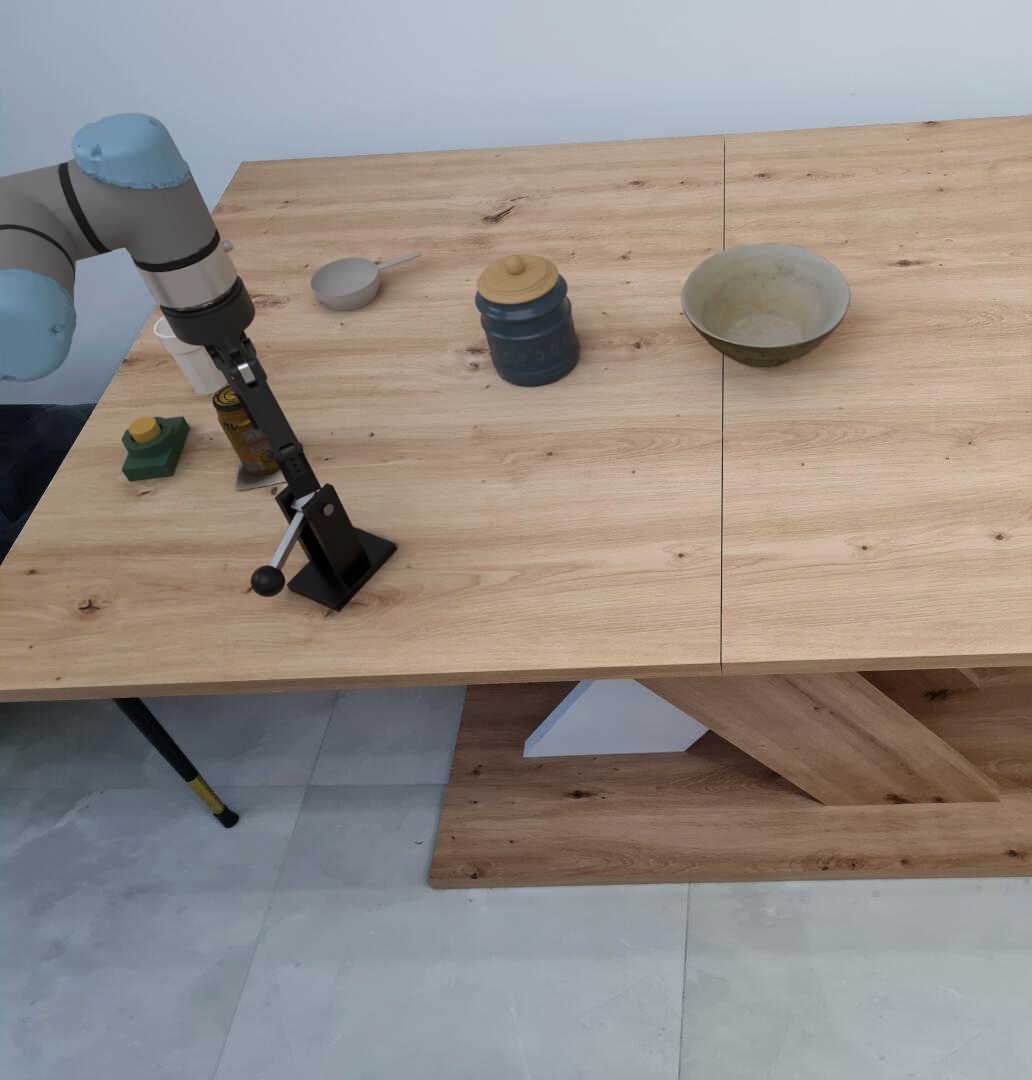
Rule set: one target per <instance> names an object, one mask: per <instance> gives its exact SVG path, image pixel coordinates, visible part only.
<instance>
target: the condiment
mask: <svg viewBox="0 0 1032 1080" xmlns="http://www.w3.org/2000/svg"><path fill="white" fill-rule="evenodd" d="M212 407H213V408H214V409H215V411H216V414H217V420H218V422H219V425H220V427H221V428H222V430H223V432H224V434H225V436H226V437H227V440H228V441H229V443H230V445H231V446H232V448H233V450H234V452H235V454H236V456H237V458H238V459H239V464H238V469H237V475H236V484H235V487H234V488H235V489H234V490H235V491H244V490H250V489H256V488H257V489H258V488H262V487H269V486H271V485H276V484H282V483H285V482H286V480H285V478H284V476H283V474H282V472H281V470H280V468H279V467H278V465H277V463H276V461H275V459H274V458H273V459H271V460H268V459H267V457H266V455H265V454H267V453H270V450H271V448H270V446H269V444H268V442H267V440H266V439H265V437H264V435H263V433H262V431H261V430H260V429H258V430H254V428H253V426H252V424H251V422H250V421H249V419H248V417H247V415H246V413H245V411H244V409H243V408H242V406H241V404H240V402H239V400H238V398H237V396H236V395H235V393H234V392H233V391H232V389H231V387H230V385H229V384H226V385H225V386H224V387H222V388H221V389H220V390H218V391H216V392H214V394H213V396H212ZM286 483H287V482H286Z"/></svg>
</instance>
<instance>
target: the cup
mask: <svg viewBox="0 0 1032 1080" xmlns="http://www.w3.org/2000/svg"><path fill="white" fill-rule="evenodd" d="M153 333H154V335H155V336H156V338H157V340H158V341H159V343H160V344H161V346H162V347H163V349H164V350H165V351H166V352H168V353H169V354H170V355H171V357H172V358H173V360H174V361H175V362H176V364H177V366H178V367H179V369H180V370H181V372H182V373H183V375H184V376H185V378H186V379H187V381H188V382H189V383H190V385H191V387H192V388H193V390H194V391H195V393H196V394H197V395H212V394H213V393H214V394H215V393H216V392H217V391H218V390H220V389H221V388H222V387H224V386H226V385H228V382H227V380H226V378H225V377H224V375H223V373H222V372H221V371H220V370H218V369H217V368H216V366H215V364H214V363H213V361H212V359H211V357H210V355H208V353H207V351H206V349H205V348H204V346H195V345H190V344H186V343H184V342H182V341H180V340H179V339H178V338H177V337H176V336H175V334H174V332H173V331H172V329H171V327H170V325H169V323H168V322H167V320H166V318H165V316H164V315H163V316H162V317H161V318H159V319H158V320H156V322H155V324H154V325H153Z"/></svg>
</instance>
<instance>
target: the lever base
mask: <svg viewBox="0 0 1032 1080" xmlns="http://www.w3.org/2000/svg"><path fill="white" fill-rule="evenodd" d="M321 488H322V489H320V490H317V493H316V494H315V495H314V496H313V497H312V498H311V499H310V500H309V501H308V502H307V503H305V504H304V505H303V506H302V507H301V510H302V512H303V514H304V516H305V518H306V519H307V522H306V524H305V526H304V528H303V530H302V532H301V534H300V536H299V537H298V539H297V541H298V544H299V545H300V547H301V549H302V550H303V552H304V554H305V556H306V558H307V559H308V562H307V563H306V564H305V565H304V566H303V567H301V569H300V570H299V571H298V572H297V573H296V574H295V575H294V576H293V577H292V578H291V579H290V580H289V581H288V582H287V583H285V586H286V587H287V589H288V591H290V592H292V593H295V594H296V595H299V596H301V597H303V598H306V599H308V600H311V601H312V602H315V603H317V604H319V605H322V606H324V607H327V608H329V609H330V610H333V611H336V612H339V613H340V612H341V610H342V609H344V607H345V606H346V605H348V603H349V602H350V601H351V600H352V599H353V598H354V597H355V596H356V595H357V593H358V592H359V591H360V590H361V589H362V588H363V587H364V586H365V585H366V584H367V583H368V582H369V581H370V579H371V578H372V577H373V576H374V575H375V574H376V573H377V572H378V571H379V570H380V569H381V567H383V566H384V564H385V563H386V562H387V561H388V560H389V559H390V558H391V557H392V556H393V554H395V552H397V550H398V546H397V545H396V543H395V542H393V541H391V540H388V539H386V538H384V537H380V536H378V535H376V534H373V533H371V532H368V531H366V530H363V529H360V528H358V527H356V526H354V525H353V523H352V520H351V519H350V517H349V515H348V512H347V510H346V509H345V507H344V505H343V503H342V501H341V499H340V497H339V495H338V492H337V490H336V488H335V486H334V485H333V484H331V483H329V482H326V483H325V484H324V485H323V486H321ZM294 499H295V497H294V495H293V493H292V491H291V489H290V487H289V485H288V484H287V486H285V487H284V488H283V489H282V490H281V491H280V492H278V494H277V495H276V496H274V501H275V502H276V504H277V506H278V507H279V509H280V511H281V513H282V514H283V517H284V518H285V520H286V522H287V523H288V526H290V524H291V522H292V520H293V518H294V517H295V515H296V513H297V510H295V509H293V508H291V505H292V503H293V501H294Z"/></svg>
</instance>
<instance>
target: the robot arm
mask: <svg viewBox="0 0 1032 1080" xmlns="http://www.w3.org/2000/svg"><path fill="white" fill-rule="evenodd" d="M70 149H71V152H72V154H73V158H72V159H69V160H68V161H66V162H61V163H59V164H58V163H57V164H54V165H53V164H52V165H49V166H44V167H40V168H36V169H31V170H27V171H21V172H18V173H12V174H9V175H5V176H1V177H0V382H1V381H6V382H17V383H20V384H22V383H29V382H35V381H39V380H41V379H44V378H47V377H48V376H50V375H51V374H53V373H54V372H56V371H57V370H58V369H59V368H60V367H61V366H62V365H63V364H64V363H65V361H66V360H67V358H68V355H69V353H70V350H71V346H72V342H73V337H74V333H75V330H76V326H77V312H76V309H75V283H76V271H77V269H76V268H77V267H76V266H77V262H79V261H81V260H85V259H90V258H93V257H96V256H102V255H104V254H108V253H112V252H113V251H116V250H120V249H124V248H125V250H126V251H127V253H128V254H129V255H130V257H131V259H132V262H133V264H134V266H135V268H136V270H137V272H138V274H139V275H140V277H141V278H142V280H143V282H144V284H145V286H146V288H147V289H148V291H149V293H150V294H151V297H152V298H153V300H154V301H155V303H157V304H158V305H159V309H160V311H161V313H162V315H163V316H165V318H166V320H167V322H168V323H169V325H170V327H171V329H172V331H173V332H174V334H175V336H176V337H177V338H178V339H179V340H180V341H182V342H184V343H186V344H190V345H195V346H204V348H205V349H206V351H207V353H208V355H210V357H211V359H212V361H213V363H214V364H215V366H216V368H217V369H218V370H220V371H221V372H222V373H223V375H224V377H225V378H226V380H227V385H230V387H231V389H232V391H233V392H234V393H235V395H236V396H237V398H238V400H239V402H240V404H241V406H242V408H243V409H244V411H245V413H246V415H247V417H248V419H249V421H250V422H251V424H252V426H253V428H254V430H258V429H260V430H261V431H262V433H263V435H264V437H265V439H266V440H267V442H268V444H269V446H270V448H271V450H270V453H267V454H265V455H266V457H267V459H268V460H271V459H273V458H274V459H275V461H276V463H277V465H278V467H279V468H280V470H281V472H282V474H283V476H284V478H285V480H286V484H287V486H288V485H289V487H290V489H291V491H292V493H293V495H294V497H295V498H296V500H298V499H300V498H303V497H305V496H307V495H309V494H311V493H313V492H315V491H317V492H318V491H319V490H320V489H322V486H321V484H320V482H319V480H318V478H317V477H316V474H315V472H314V470H313V468H312V466H311V464H310V462H309V460H308V458H307V456H306V454H305V452H304V450H305V449H304V446H303V444H302V442H300V441H299V439H298V437H297V436H296V434H295V432H294V430H293V428H292V426H291V424H290V423H289V421H288V419H287V417H286V415H285V413H284V412H283V409H282V408H281V406H280V404H279V402H278V400H277V399H276V396H275V395H274V393H273V391H272V389H271V388H270V386H269V383H268V375H267V373H266V371H265V369H264V367H263V366H262V364H261V362H260V360H259V359H258V357H257V349H256V347H255V346H254V343H253V342H252V340H251V338H250V337H248V336H247V334H246V332H245V330H246V329H248V328H249V327H250V326H251V324H252V323H253V321H254V319H255V317H256V307H255V304H254V302H253V300H252V298H251V295H250V293H249V291H248V289H247V287H246V285H245V283H244V281H243V279H242V278H241V277H240V276H239V275H238V270H237V268H236V266H235V264H234V262H233V260H232V257H231V256H230V254H229V252H231V251H232V250H234V245H233V243H232V242H231V241H230V240H229V239H226V240H222V239H223V238H222V237H221V236H220V235H221V234H220V231H219V230H218V227H217V225H216V223H215V221H214V220H213V219H214V218H213V217H212V215H211V213H210V210H209V209H208V207H207V204H206V201H205V200H204V198H203V196H202V193H201V191H200V189H199V186H198V185H197V182H196V180H195V178H194V176H193V174H192V171H191V169H190V166H189V163H188V162H187V161H186V160H185V159H184V158H183V156H182V154H181V153H180V150H179V149H178V147H177V144H176V143H175V141H174V140H173V137H172V136H171V134H170V132H169V131H168V129H167V127H166V125H164V123H162V121H160V119H157V118H156V117H154V116H151V115H149V114H145V113H140V112H123V113H116V114H111V115H107V116H104V117H102V118H100V120H97V121H96V122H90V123H87V124H86V125H84V126H83V127H81V128H80V129H78V130H77V131H76V132H75V134H74V135H73V137H72V138H71V141H70Z"/></svg>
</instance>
